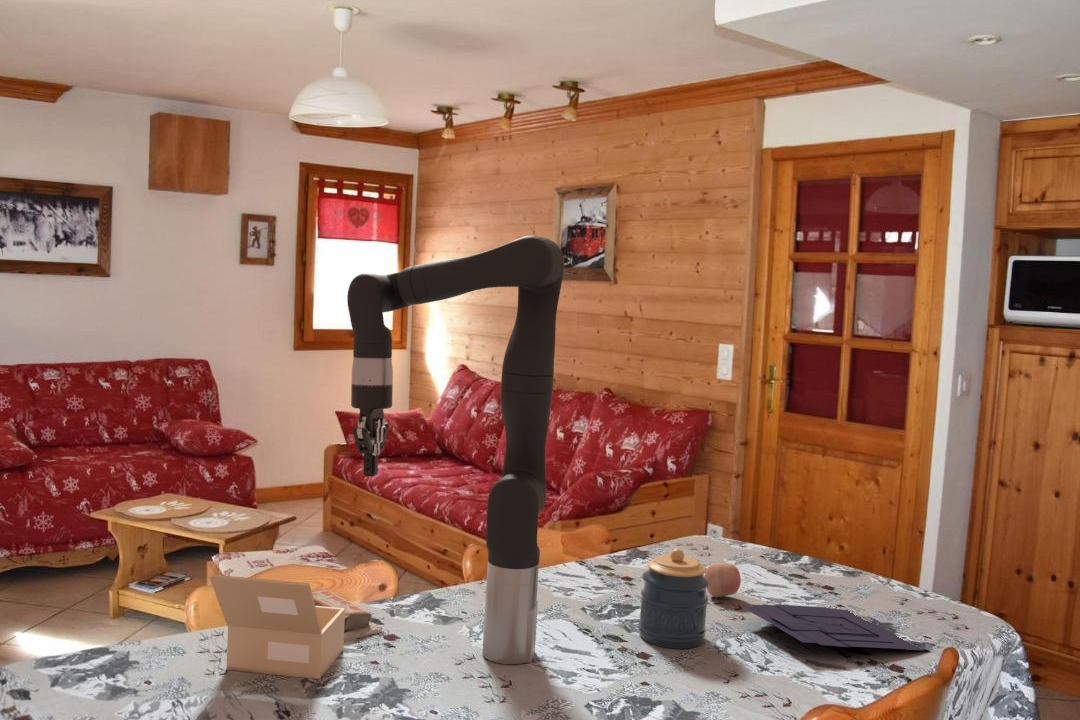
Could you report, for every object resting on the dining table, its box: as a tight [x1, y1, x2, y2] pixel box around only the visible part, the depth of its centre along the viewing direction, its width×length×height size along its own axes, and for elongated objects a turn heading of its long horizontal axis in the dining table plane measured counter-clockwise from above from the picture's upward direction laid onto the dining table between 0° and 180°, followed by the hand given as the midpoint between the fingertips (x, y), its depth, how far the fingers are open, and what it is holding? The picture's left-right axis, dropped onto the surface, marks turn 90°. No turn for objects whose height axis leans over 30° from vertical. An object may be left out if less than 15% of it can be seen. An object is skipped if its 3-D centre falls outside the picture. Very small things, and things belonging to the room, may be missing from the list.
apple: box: [704, 562, 742, 599], centre depth 217 cm, size 8×8×8 cm
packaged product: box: [311, 588, 383, 642], centre depth 187 cm, size 18×5×10 cm
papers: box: [740, 603, 924, 651], centre depth 197 cm, size 24×30×4 cm
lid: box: [209, 574, 322, 634], centre depth 157 cm, size 16×13×1 cm
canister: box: [638, 548, 709, 650], centre depth 190 cm, size 13×13×18 cm
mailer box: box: [225, 606, 345, 680], centre depth 168 cm, size 16×13×8 cm
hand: (370, 475), depth 181 cm, fingers closed
